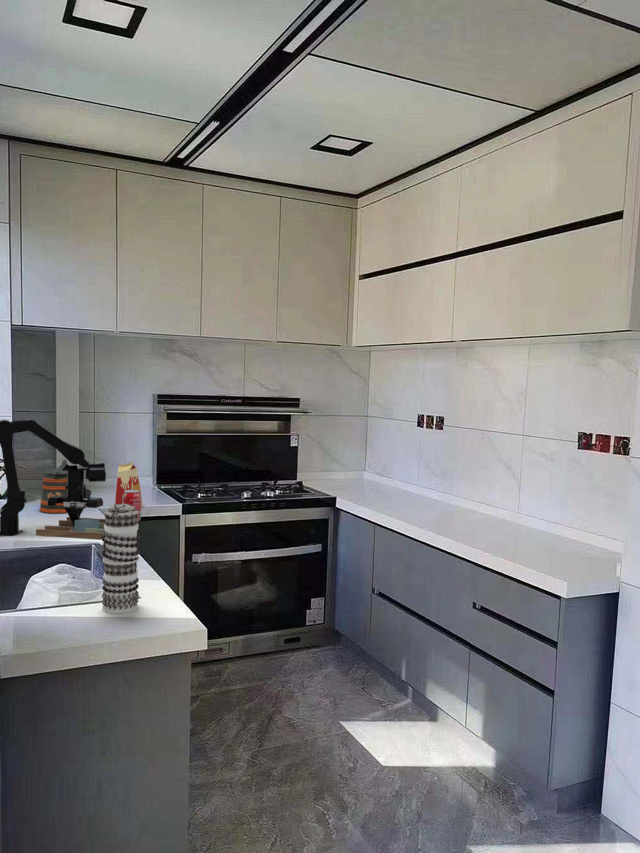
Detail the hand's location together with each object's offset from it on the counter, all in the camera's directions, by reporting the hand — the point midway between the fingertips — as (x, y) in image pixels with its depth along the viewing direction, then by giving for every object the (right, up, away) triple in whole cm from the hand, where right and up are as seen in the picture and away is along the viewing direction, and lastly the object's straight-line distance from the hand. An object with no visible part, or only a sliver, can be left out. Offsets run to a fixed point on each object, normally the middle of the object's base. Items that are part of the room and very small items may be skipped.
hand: (75, 525), depth 248 cm
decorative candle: (+40, -9, -81) cm, 91 cm away
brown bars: (+5, -2, -1) cm, 5 cm away
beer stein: (-19, +1, +36) cm, 41 cm away
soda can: (+16, -1, +17) cm, 23 cm away
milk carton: (+7, +1, +43) cm, 44 cm away
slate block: (+4, -2, -1) cm, 5 cm away
